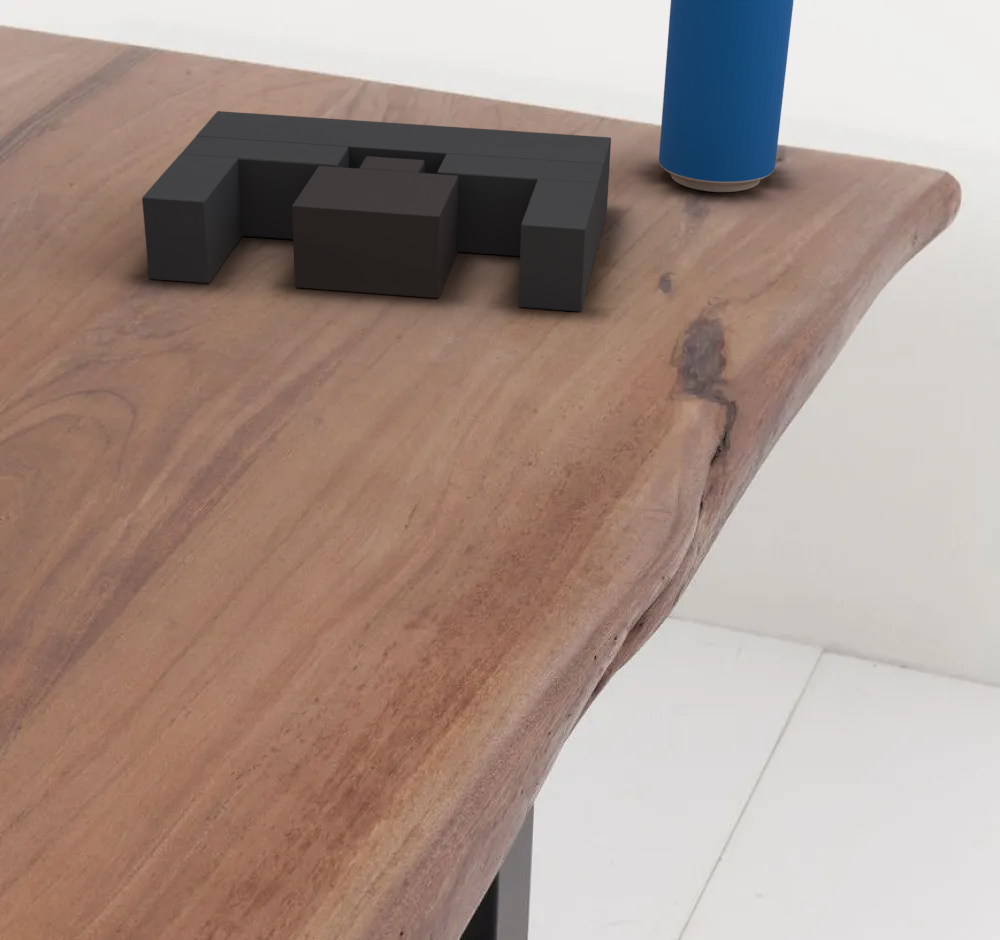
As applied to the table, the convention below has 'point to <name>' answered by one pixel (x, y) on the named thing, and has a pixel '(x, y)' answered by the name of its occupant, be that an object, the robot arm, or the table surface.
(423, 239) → the black block
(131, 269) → the table surface
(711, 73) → the beverage can
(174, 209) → the pad base
